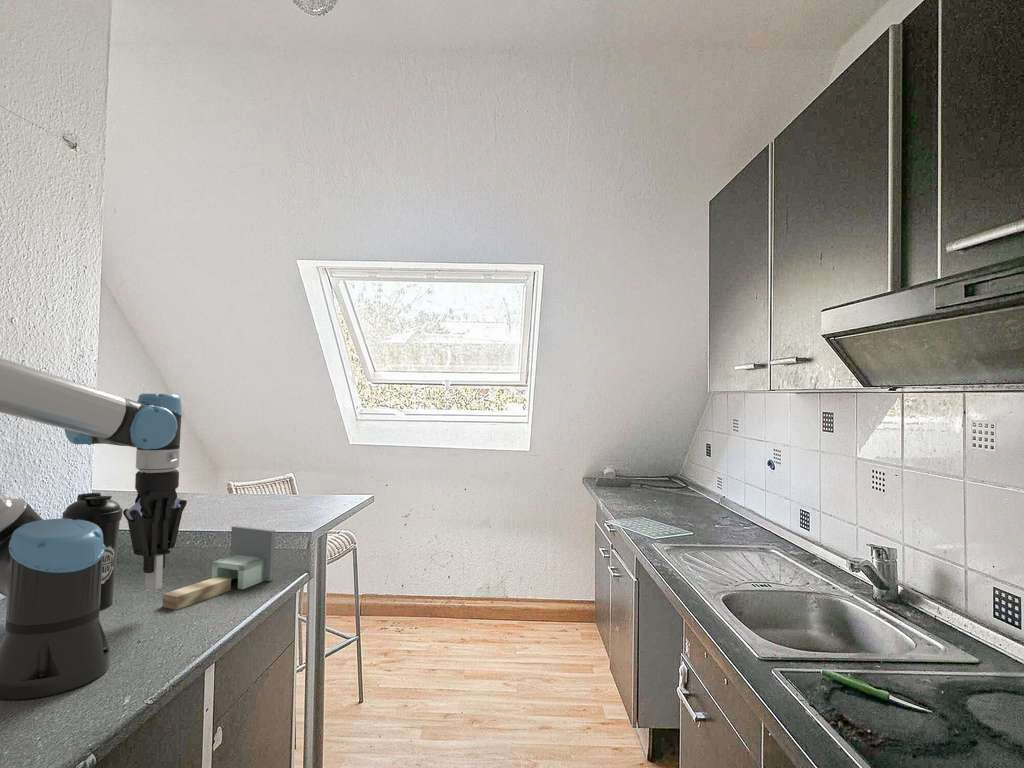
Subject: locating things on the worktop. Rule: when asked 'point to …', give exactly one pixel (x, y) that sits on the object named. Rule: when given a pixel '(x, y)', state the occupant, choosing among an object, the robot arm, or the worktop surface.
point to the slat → (196, 592)
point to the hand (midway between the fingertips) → (153, 587)
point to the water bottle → (108, 520)
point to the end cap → (248, 557)
